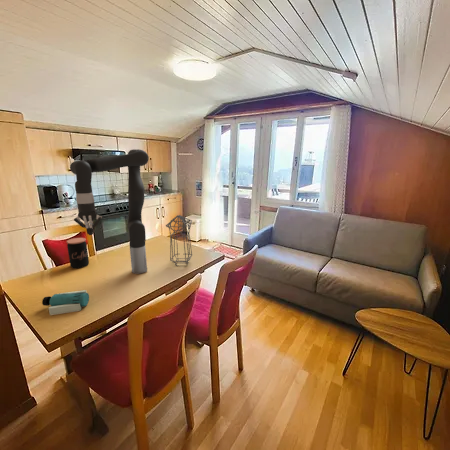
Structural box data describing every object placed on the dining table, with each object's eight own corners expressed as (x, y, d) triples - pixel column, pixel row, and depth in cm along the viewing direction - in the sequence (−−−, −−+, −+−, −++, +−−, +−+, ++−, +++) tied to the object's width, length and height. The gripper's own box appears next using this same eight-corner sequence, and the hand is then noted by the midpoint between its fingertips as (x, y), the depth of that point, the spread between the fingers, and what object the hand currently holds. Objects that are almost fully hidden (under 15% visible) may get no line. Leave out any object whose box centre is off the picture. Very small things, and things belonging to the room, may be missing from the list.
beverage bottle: (85, 305, 105) (37, 307, 102) (91, 307, 111) (46, 309, 108) (88, 291, 108) (41, 292, 105) (93, 293, 114) (49, 294, 111)
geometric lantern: (190, 268, 152) (188, 217, 143) (167, 268, 153) (163, 217, 144) (194, 259, 168) (192, 212, 158) (173, 259, 168) (170, 212, 159)
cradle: (87, 295, 118) (86, 289, 117) (80, 310, 106) (79, 304, 105) (59, 299, 114) (58, 293, 114) (49, 315, 103) (48, 308, 102)
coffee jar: (72, 270, 146) (67, 243, 141) (69, 265, 154) (65, 239, 149) (90, 266, 153) (87, 240, 148) (87, 261, 160) (84, 236, 156)
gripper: (101, 200, 120) (105, 231, 125) (72, 201, 116) (77, 233, 120) (99, 202, 114) (103, 235, 118) (68, 203, 109) (74, 238, 114)
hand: (90, 234), depth 119 cm, fingers closed
